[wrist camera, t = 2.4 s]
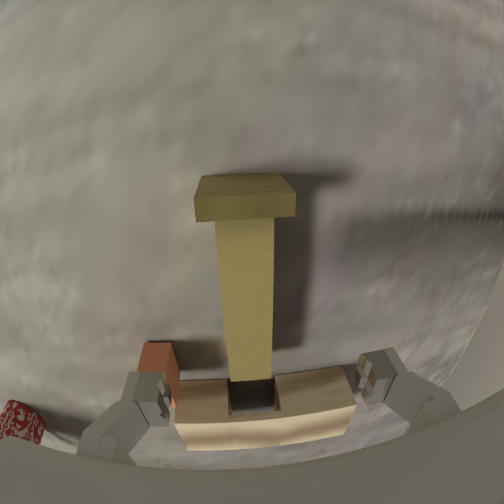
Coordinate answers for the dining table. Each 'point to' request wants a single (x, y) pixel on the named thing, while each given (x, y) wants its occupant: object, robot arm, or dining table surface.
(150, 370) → the orange block
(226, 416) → the block
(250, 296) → the pin
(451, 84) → the dining table surface
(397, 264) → the dining table surface
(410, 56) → the dining table surface
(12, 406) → the mug
